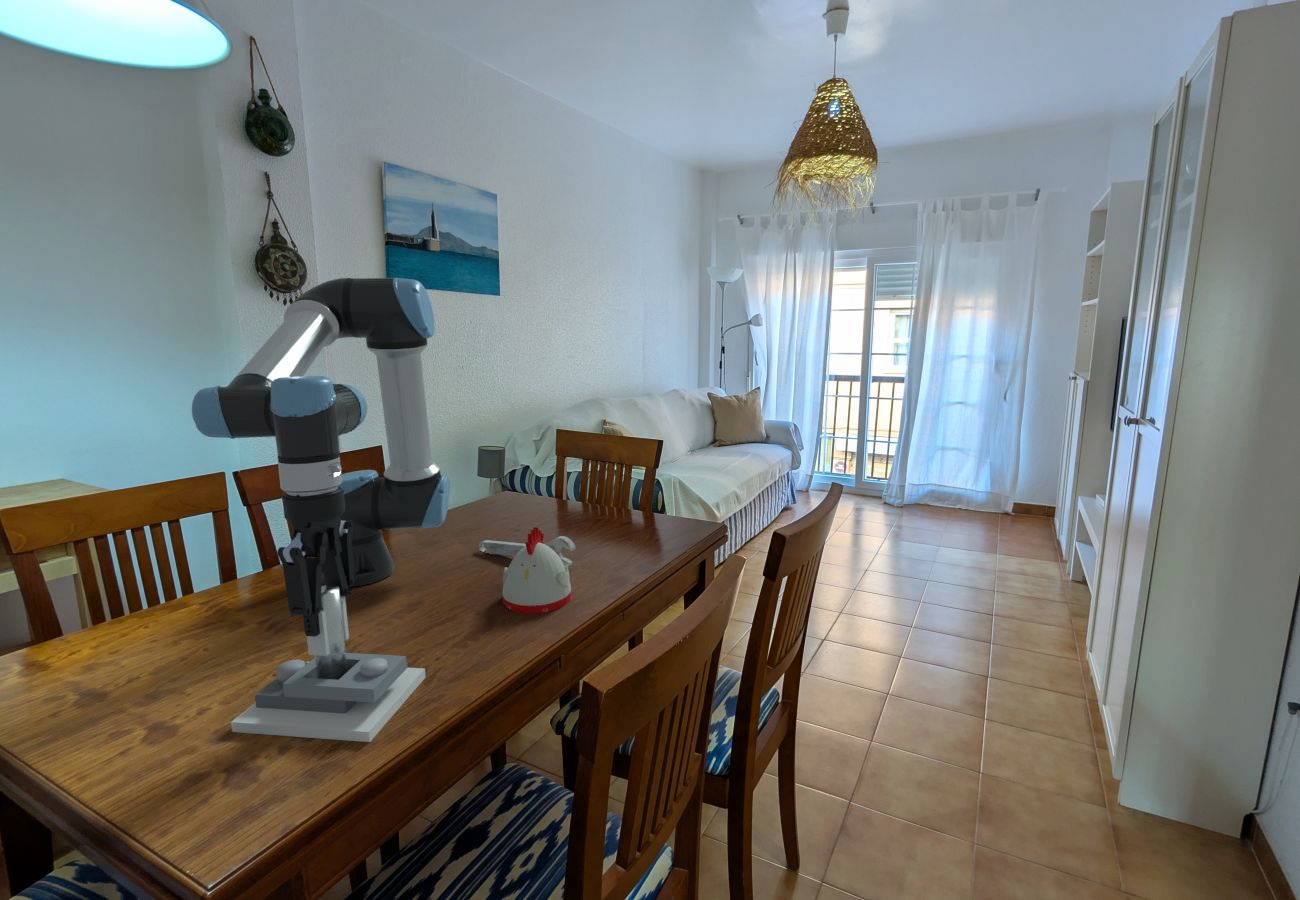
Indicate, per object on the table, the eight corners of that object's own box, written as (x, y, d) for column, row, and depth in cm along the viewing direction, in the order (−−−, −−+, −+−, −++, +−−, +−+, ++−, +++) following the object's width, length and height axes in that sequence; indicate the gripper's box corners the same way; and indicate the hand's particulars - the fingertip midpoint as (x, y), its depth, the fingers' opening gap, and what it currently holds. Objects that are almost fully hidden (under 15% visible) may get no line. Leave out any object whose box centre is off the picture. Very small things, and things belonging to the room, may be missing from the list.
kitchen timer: (491, 610, 123) (487, 537, 120) (517, 583, 136) (514, 517, 133) (559, 615, 120) (557, 541, 118) (579, 587, 134) (577, 520, 131)
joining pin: (311, 687, 90) (301, 595, 87) (328, 672, 94) (319, 584, 91) (337, 689, 89) (328, 597, 87) (353, 674, 93) (345, 585, 91)
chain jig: (232, 731, 85) (226, 688, 84) (307, 670, 101) (303, 632, 100) (369, 742, 83) (365, 697, 82) (425, 677, 99) (422, 639, 98)
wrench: (485, 561, 157) (578, 571, 141) (480, 563, 156) (573, 573, 140) (481, 530, 156) (574, 536, 140) (475, 532, 155) (569, 538, 139)
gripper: (297, 506, 77) (316, 679, 82) (372, 475, 94) (385, 620, 98) (241, 504, 78) (263, 676, 82) (325, 474, 95) (340, 618, 99)
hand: (329, 645), depth 90 cm, fingers closed on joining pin, 4 cm apart
